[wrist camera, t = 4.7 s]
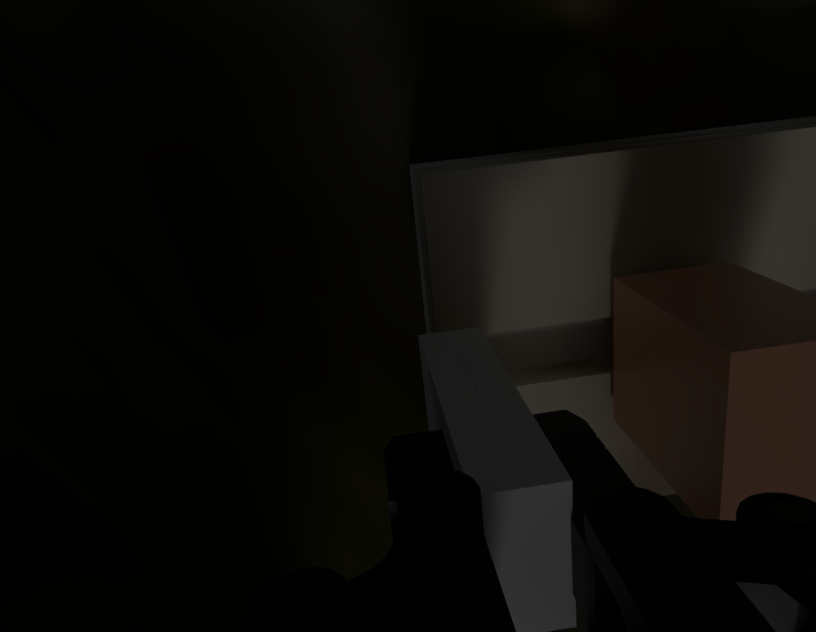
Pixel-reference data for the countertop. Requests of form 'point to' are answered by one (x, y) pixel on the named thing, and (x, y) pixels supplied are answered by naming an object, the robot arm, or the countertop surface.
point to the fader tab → (718, 383)
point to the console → (604, 246)
